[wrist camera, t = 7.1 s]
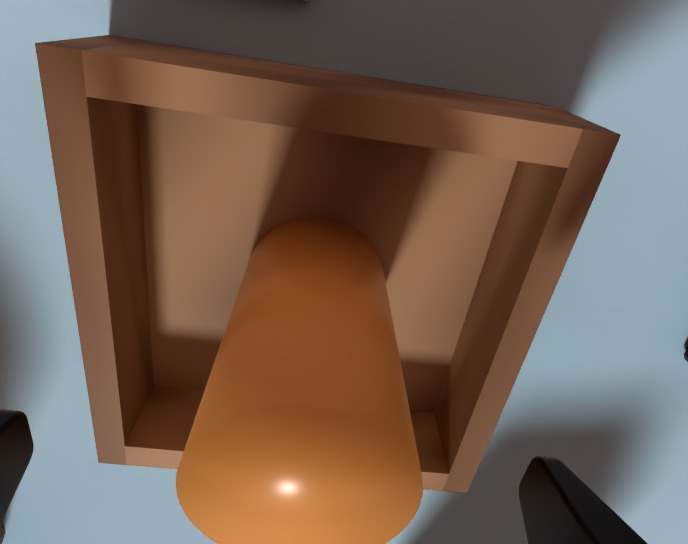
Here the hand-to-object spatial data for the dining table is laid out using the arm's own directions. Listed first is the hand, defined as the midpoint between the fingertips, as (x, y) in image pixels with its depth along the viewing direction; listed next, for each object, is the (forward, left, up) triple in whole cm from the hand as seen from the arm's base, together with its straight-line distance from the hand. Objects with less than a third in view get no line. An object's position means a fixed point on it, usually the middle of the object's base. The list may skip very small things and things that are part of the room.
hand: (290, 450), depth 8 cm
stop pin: (0, 0, -6) cm, 6 cm away
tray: (0, 0, -7) cm, 7 cm away
